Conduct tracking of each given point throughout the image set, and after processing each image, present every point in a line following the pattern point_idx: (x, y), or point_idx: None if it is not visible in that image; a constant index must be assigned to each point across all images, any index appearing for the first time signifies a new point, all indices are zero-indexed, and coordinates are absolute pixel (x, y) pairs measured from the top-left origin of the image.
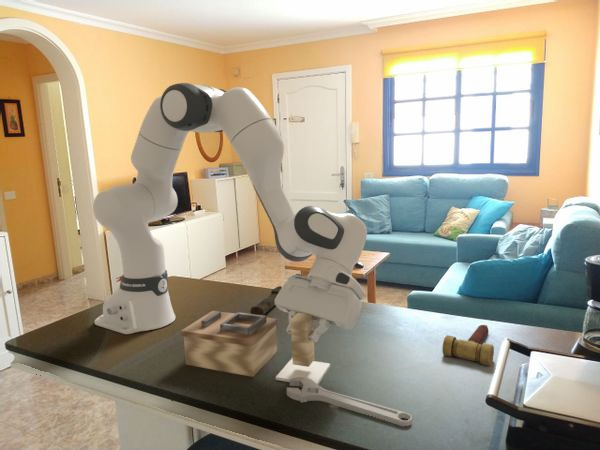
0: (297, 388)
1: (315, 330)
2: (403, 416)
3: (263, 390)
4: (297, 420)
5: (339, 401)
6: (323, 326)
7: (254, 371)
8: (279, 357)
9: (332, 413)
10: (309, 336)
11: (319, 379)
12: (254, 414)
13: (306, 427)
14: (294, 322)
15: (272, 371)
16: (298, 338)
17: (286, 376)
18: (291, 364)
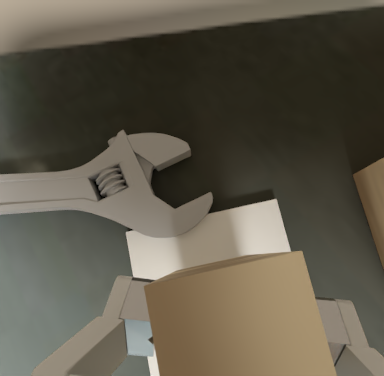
0: (157, 163)
1: (110, 320)
2: None
3: (265, 130)
4: (91, 67)
5: (8, 174)
6: (46, 366)
7: (363, 182)
8: (378, 351)
9: (21, 139)
10: (148, 281)
11: (132, 265)
12: (206, 30)
13: (56, 57)
14: (261, 258)
15: (323, 241)
16: (222, 263)
17: (245, 221)
18: None
